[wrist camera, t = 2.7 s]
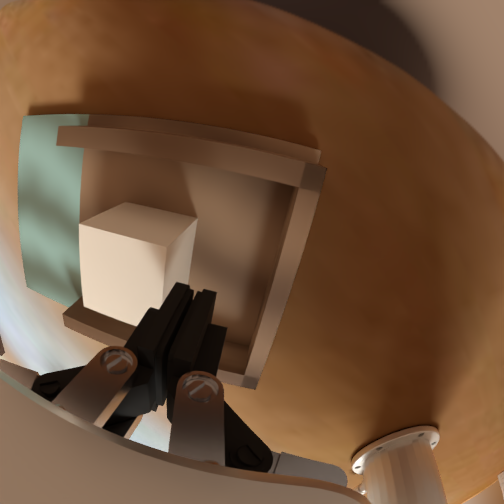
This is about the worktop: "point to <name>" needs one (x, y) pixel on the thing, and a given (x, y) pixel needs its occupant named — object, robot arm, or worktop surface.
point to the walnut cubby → (177, 201)
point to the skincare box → (501, 481)
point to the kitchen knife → (1, 347)
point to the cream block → (133, 259)
